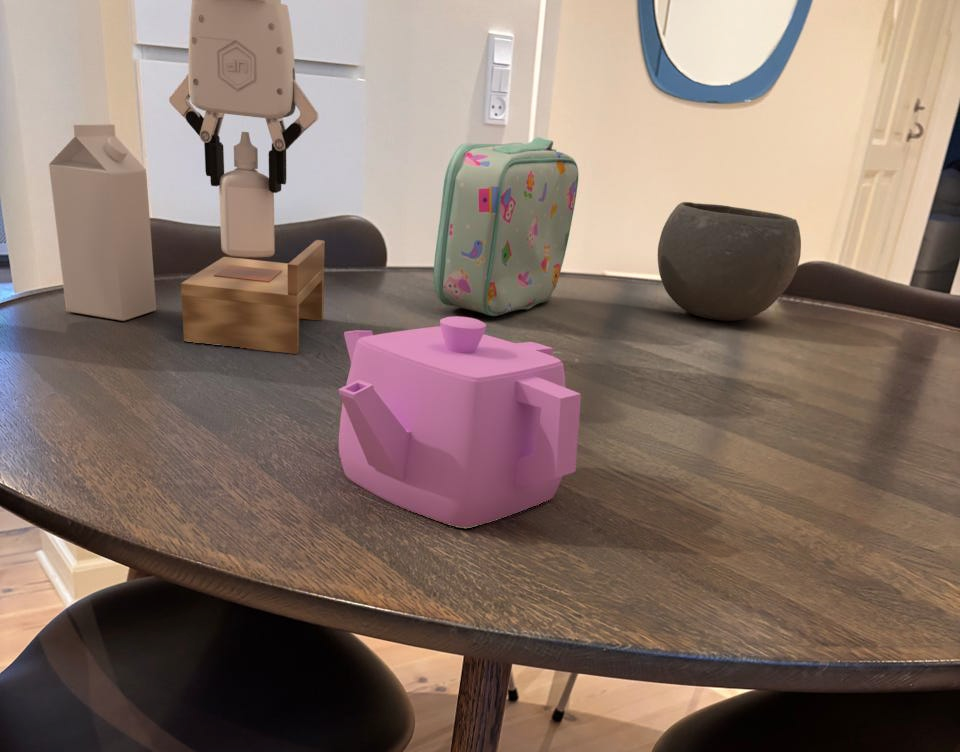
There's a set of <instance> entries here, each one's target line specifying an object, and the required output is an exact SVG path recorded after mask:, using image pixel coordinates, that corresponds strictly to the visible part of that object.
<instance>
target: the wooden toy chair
mask: <svg viewBox="0 0 960 752" xmlns="http://www.w3.org/2000/svg"><path fill="white" fill-rule="evenodd" d="M180 295H181V296H180V297H181V312H182V314H181V315H182V326H183V327H182V329H183V342H184V341H187V342H188V341H189V342H199V343H209V344H220V345H225V346H234V347H240V348H239V349H243V348H247V349H246V350H252V349H253V350H254V351H263V352H272V353H282V354H290V355H291V354H292V355H297V354H299V352H300V319H302V320H312V321H321V322H322V321H323V320H324V312H325V311H324V308H325V307H324V306H325V305H324V303H325V302H324V301H325V240H321V239H316V240H314V241H313V242H312V243H310V245H309V246H307V247H306V248H305V249H304V250H303V251H302V252H300V253H299V254H297V256H296V257H294V258H293V259H292V260H291V261H290V262H288V263H286V262H278V261H267V260H258V259H249V258H242V257H232V256H223V257H221V258H220V259H218V260H216V261H215V262H213V263H212V264H210V265H208V266H207V267H205V268H203V269H202V270H200V271H198V272H197V273H195V274H194V275H192V276H191V277H189V278H187V279H186V280H184V281H182V282H181V283H180ZM253 350H252V351H253Z"/></svg>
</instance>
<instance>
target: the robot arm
mask: <svg viewBox="0 0 960 752" xmlns="http://www.w3.org/2000/svg"><path fill="white" fill-rule="evenodd" d="M190 9H191V10H190V18H189V32H188V34H189V35H188V70H187V71H188V73H187V74H186V76H185V77H184V78H183V80H182V81H181V82H180V83H179V85H178V86H177V87H176V88H175V90H174V91H173V92H172V93H171V95H170V96H169V99H168V100H169V103H170V105H171V106H172V107H173V108H174V109H175V111H177V112H178V113H179V114H180V116H182V117H183V118H184V119H185V120H186V123H188V125H189V126H190V127H191V128H192V129H193V130H194V132H195V133H196V134H197V136H198V137H199V138H200V141H201V142H203V146H204V167H205V170H204V171H205V175H206V177H210V179H209V180H210V186H212V187H219V180H220V178H221V176H222V175H223V174H225V151H224V143H222V142H221V139H220V131H221V128H222V125H223V121H224V117H225V115H232V116H242V117H251V118H259V119H260V118H261V119H265V123H266V126H267V128H268V132H269V136H270V138H271V149H270V150H269V151H268V178H269V191H271V192H272V193H274V194H277V193H280V192H281V191H282V185H286V184H287V150H288V149H289V148H290V147H291V146H292V145H293V144H294V143H295V142H296V141H297V140H298V139H299V138H300V136H302V135H303V133H304V132H305V131H307V130H308V129H309V128H311V127H312V125H314V124H315V123H316V122H318V120H319V117H320V115H319V113H318V111H317V110H316V108H315V106H313V104H312V102H311V101H310V100H309V98H308V97H307V96H306V94H305V92H304V91H303V89H302V88H301V87H300V85H299V84H298V83H297V81H296V65H295V53H294V52H295V51H294V41H293V32H292V23H291V17H290V13H289V7H288V5H287V4H284V3H282V0H191V7H190ZM194 107H195V108H194ZM196 108H197V109H199V110H202V111H205V113H204V116H203V115H202V114H201V113H200V112H199V111H197V110H196ZM296 108H297V109H298V111H299V116H298V118H296V119H295V120H294V121H293V122H292V123H291V124H290V125H289V126H288V127H286V124H285V121H284V119H283V118H288V117H290V116H292V115H293V114H294V113H295V111H296Z"/></svg>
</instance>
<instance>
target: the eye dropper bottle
mask: <svg viewBox="0 0 960 752" xmlns="http://www.w3.org/2000/svg"><path fill="white" fill-rule="evenodd" d="M258 156H259V155H258V147H256V146H255V145H253V144H252V141H251V137H250V132H249V131H241V135H240V141H239V142H238V143H237V144H235V145H233V167H235V168H234V170H229V171H227V172H224V174H223V175H222V176H221V178H220V180H219V186H218V190H219V194H218V195H219V222H220V223H219V224H220V225H219V227H220V248H221V251H222V253H223V254H225V255H226V256H228V257H233V258H269V257H270V258H271V257H273V256H274V255H275V252H276V249H275V247H276V246H275V193H272V192H271V191H269V176H267V175H265V174H264V173H262V172H259V171H258V168H259V159H258V158H259V157H258Z"/></svg>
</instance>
